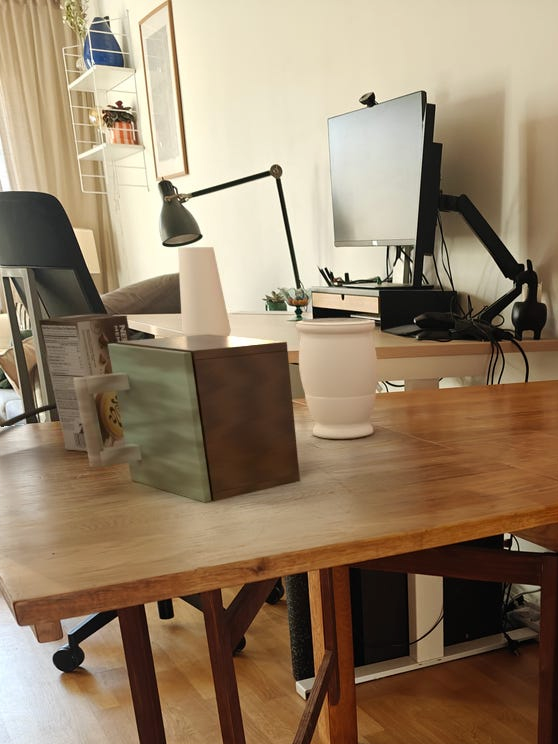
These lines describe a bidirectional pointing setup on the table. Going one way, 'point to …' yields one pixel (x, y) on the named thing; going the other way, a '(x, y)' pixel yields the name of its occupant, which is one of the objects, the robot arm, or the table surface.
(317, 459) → the table surface
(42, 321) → the coffee box
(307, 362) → the jar
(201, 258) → the white tapered column
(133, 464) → the cupboard door
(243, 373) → the cupboard
